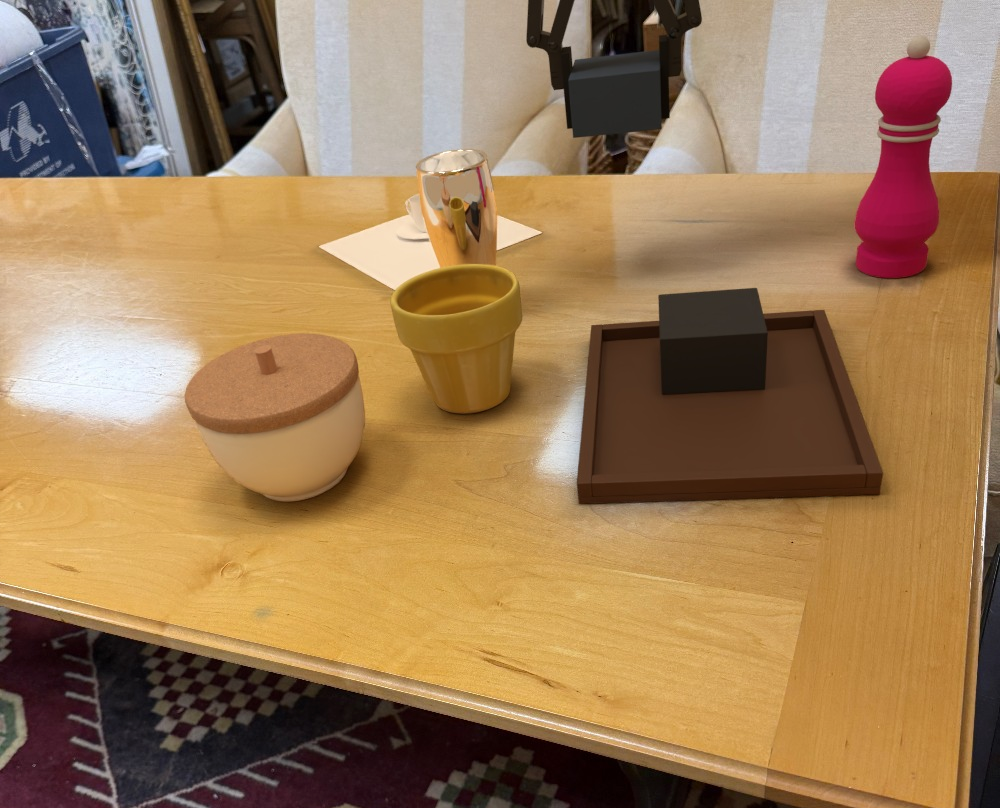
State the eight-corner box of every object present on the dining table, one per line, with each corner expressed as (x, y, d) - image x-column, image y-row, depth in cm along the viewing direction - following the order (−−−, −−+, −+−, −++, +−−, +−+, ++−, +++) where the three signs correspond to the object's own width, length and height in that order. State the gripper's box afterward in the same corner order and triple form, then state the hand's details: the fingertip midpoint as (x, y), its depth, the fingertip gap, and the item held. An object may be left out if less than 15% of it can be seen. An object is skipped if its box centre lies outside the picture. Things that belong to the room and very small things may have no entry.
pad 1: (661, 105, 88) (659, 49, 85) (661, 129, 82) (660, 69, 79) (579, 114, 90) (574, 59, 87) (573, 138, 83) (568, 79, 80)
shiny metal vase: (431, 310, 93) (403, 161, 84) (494, 291, 94) (472, 143, 86) (456, 335, 87) (428, 179, 79) (521, 314, 89) (501, 159, 80)
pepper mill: (836, 272, 87) (857, 45, 75) (870, 245, 91) (896, 25, 79) (911, 286, 83) (946, 48, 71) (944, 257, 87) (982, 26, 75)
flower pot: (461, 355, 84) (443, 254, 78) (555, 377, 78) (543, 270, 73) (388, 410, 78) (362, 305, 72) (484, 438, 72) (465, 326, 66)
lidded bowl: (238, 545, 65) (186, 415, 59) (211, 462, 75) (164, 341, 68) (402, 487, 68) (371, 357, 62) (356, 414, 78) (325, 294, 71)
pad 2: (755, 341, 78) (757, 287, 75) (765, 389, 71) (767, 332, 68) (659, 347, 79) (658, 294, 76) (661, 395, 73) (659, 338, 70)
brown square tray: (822, 328, 79) (824, 309, 78) (880, 494, 60) (883, 472, 59) (592, 342, 83) (591, 324, 82) (578, 504, 64) (576, 483, 63)
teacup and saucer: (476, 228, 110) (471, 195, 107) (420, 249, 107) (413, 215, 104) (439, 213, 116) (433, 181, 113) (385, 232, 113) (378, 200, 110)
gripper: (465, -157, 71) (504, 142, 84) (740, -204, 67) (735, 118, 80) (479, -161, 77) (514, 120, 90) (733, -204, 73) (729, 96, 86)
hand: (618, 119), depth 85 cm, fingers closed on pad 1, 8 cm apart
